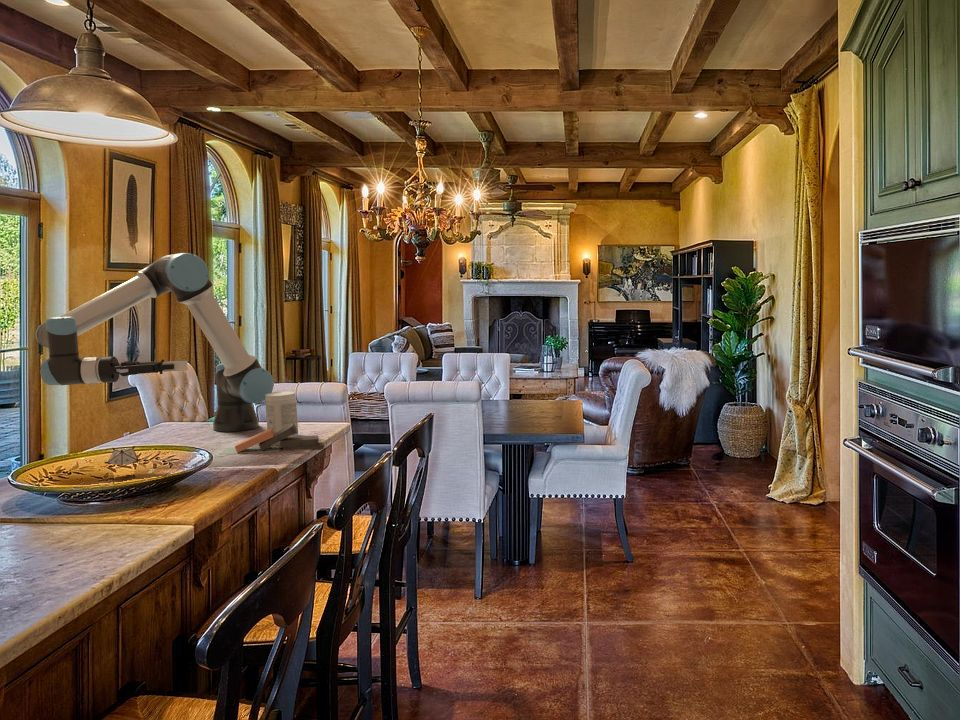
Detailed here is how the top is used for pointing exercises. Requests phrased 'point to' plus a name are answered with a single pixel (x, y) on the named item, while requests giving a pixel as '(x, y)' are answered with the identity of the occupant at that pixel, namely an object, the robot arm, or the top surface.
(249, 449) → the runner board
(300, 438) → the domino
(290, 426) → the domino
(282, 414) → the supplement tub
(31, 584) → the top surface
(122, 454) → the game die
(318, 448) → the domino
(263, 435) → the domino
